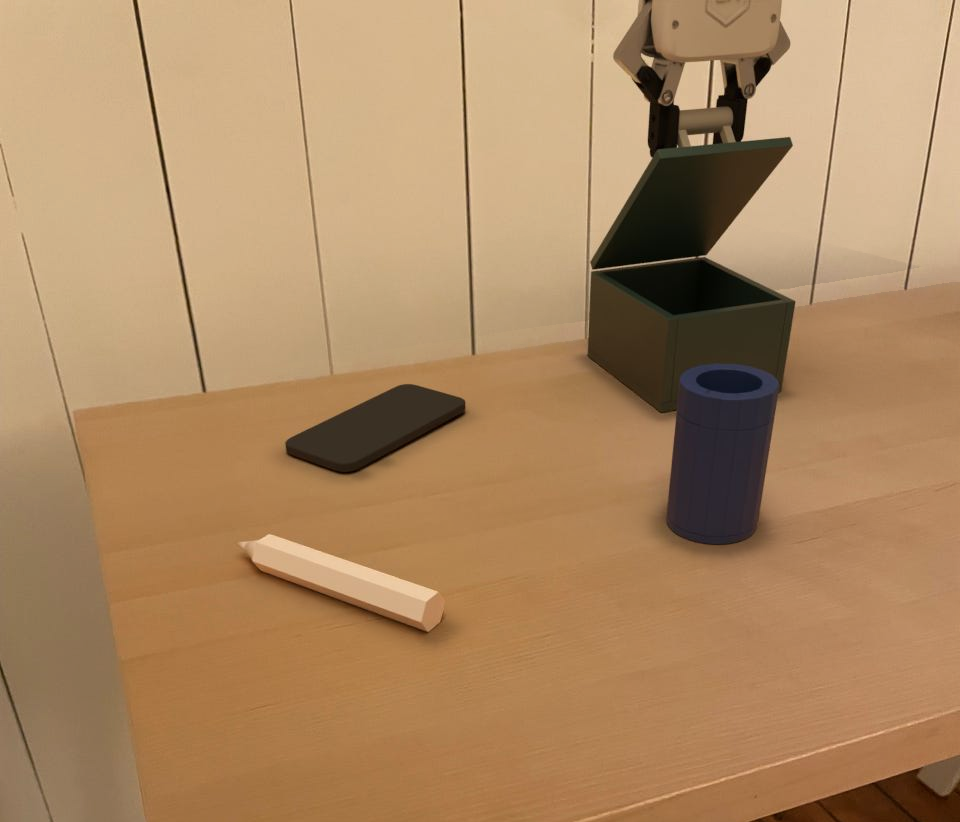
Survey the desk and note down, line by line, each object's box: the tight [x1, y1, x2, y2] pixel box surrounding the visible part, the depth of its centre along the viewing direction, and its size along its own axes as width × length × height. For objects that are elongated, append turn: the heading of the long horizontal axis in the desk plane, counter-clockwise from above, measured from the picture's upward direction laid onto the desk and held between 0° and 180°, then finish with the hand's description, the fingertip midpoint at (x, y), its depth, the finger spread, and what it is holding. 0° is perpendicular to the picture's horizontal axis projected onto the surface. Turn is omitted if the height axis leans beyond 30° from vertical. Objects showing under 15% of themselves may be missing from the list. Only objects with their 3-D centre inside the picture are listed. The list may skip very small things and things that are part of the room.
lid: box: [589, 106, 794, 271], centre depth 85 cm, size 15×12×5 cm
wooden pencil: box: [233, 533, 446, 633], centre depth 62 cm, size 3×2×16 cm
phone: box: [284, 383, 467, 473], centre depth 82 cm, size 7×1×15 cm
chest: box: [587, 256, 796, 413], centre depth 89 cm, size 15×12×8 cm
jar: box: [666, 364, 780, 545], centre depth 66 cm, size 6×6×10 cm
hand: (694, 153), depth 81 cm, fingers closed on lid, 5 cm apart
